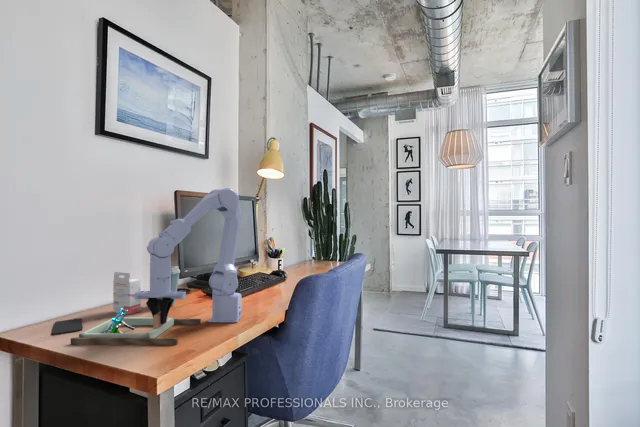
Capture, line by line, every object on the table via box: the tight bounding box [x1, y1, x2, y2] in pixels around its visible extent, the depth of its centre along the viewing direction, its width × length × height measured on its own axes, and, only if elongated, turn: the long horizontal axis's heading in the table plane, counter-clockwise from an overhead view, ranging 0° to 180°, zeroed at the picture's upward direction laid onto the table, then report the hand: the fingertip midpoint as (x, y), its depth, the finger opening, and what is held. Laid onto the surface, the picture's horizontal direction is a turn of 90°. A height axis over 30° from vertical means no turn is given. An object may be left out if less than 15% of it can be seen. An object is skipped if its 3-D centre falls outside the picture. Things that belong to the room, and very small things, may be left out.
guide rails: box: [70, 318, 202, 346], centre depth 103 cm, size 29×18×2 cm, turn 89°
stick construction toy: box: [104, 308, 135, 333], centre depth 104 cm, size 12×7×8 cm
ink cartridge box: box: [112, 271, 142, 316], centre depth 127 cm, size 9×5×15 cm, turn 68°
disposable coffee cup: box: [171, 265, 181, 307], centre depth 136 cm, size 11×11×15 cm
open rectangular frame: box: [78, 312, 175, 338], centre depth 103 cm, size 19×16×6 cm
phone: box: [51, 317, 84, 336], centre depth 110 cm, size 7×1×15 cm
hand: (160, 323), depth 103 cm, fingers closed on open rectangular frame
